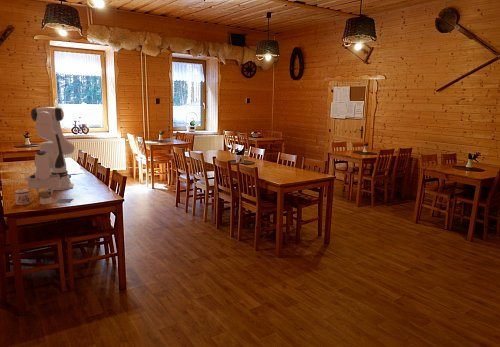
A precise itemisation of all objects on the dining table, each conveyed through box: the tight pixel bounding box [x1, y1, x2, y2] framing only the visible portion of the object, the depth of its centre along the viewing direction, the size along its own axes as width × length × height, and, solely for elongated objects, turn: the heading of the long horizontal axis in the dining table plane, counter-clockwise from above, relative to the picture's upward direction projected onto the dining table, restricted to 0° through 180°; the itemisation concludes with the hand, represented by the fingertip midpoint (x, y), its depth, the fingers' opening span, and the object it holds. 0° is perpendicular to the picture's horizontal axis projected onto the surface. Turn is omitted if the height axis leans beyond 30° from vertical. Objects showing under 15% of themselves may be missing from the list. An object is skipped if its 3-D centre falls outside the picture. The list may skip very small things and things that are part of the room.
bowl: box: [39, 195, 53, 205], centre depth 263 cm, size 6×6×5 cm
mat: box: [55, 198, 74, 204], centre depth 269 cm, size 12×10×1 cm
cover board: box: [37, 189, 52, 199], centre depth 262 cm, size 9×6×3 cm, turn 11°
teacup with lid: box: [13, 186, 35, 206], centre depth 264 cm, size 12×9×12 cm
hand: (45, 194), depth 262 cm, fingers closed on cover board, 6 cm apart
